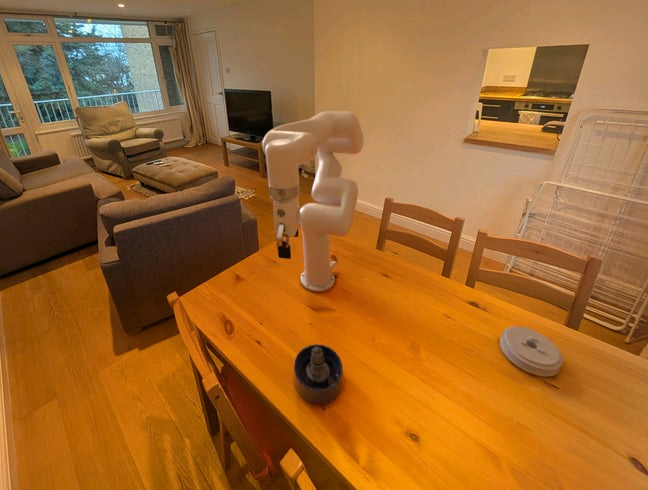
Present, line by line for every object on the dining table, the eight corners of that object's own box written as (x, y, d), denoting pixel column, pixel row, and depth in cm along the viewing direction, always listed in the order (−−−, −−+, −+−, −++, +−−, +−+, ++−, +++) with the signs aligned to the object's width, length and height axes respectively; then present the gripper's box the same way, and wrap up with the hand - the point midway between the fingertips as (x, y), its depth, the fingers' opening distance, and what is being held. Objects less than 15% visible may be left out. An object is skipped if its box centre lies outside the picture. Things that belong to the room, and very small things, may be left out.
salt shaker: (328, 393, 72) (328, 360, 67) (305, 389, 73) (303, 356, 68) (330, 370, 77) (330, 338, 72) (308, 366, 79) (306, 335, 74)
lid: (556, 389, 70) (563, 376, 68) (494, 357, 78) (498, 345, 76) (560, 352, 79) (566, 339, 77) (503, 327, 87) (507, 315, 85)
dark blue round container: (315, 351, 83) (314, 336, 81) (351, 379, 75) (352, 364, 73) (285, 382, 76) (284, 367, 73) (322, 418, 68) (322, 402, 65)
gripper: (291, 207, 64) (296, 269, 71) (305, 176, 79) (307, 229, 86) (259, 205, 66) (266, 265, 73) (278, 175, 81) (283, 228, 88)
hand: (289, 246), depth 80 cm, fingers open, 9 cm apart
